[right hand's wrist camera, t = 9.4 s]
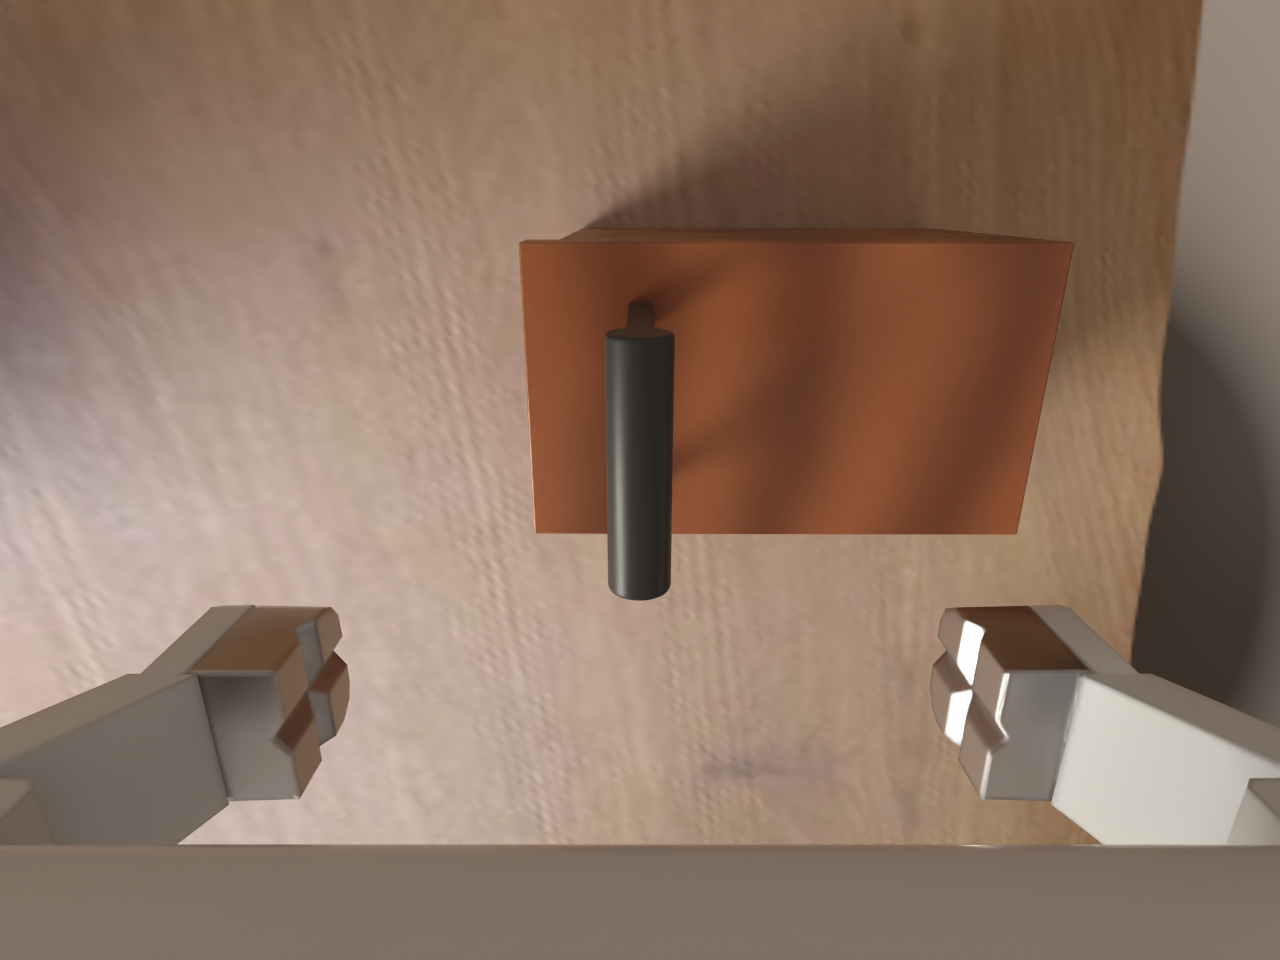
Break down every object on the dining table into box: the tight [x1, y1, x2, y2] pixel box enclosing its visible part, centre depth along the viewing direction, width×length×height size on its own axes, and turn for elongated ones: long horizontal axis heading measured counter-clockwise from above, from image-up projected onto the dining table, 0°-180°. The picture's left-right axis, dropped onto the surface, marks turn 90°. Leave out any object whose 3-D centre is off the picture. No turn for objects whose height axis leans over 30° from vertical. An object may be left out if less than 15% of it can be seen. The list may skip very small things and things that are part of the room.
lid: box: [519, 240, 1074, 600], centre depth 20 cm, size 16×9×8 cm, turn 90°
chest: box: [560, 228, 1043, 240], centre depth 28 cm, size 15×9×9 cm, turn 90°
